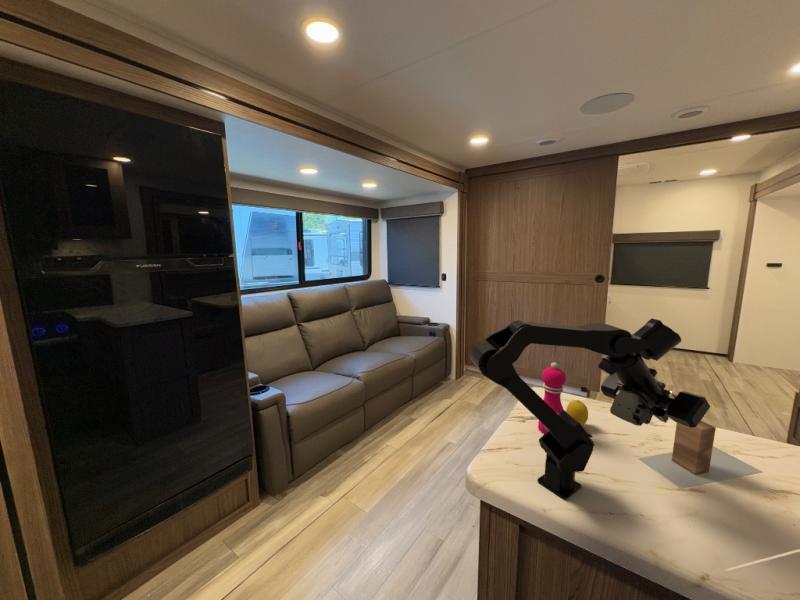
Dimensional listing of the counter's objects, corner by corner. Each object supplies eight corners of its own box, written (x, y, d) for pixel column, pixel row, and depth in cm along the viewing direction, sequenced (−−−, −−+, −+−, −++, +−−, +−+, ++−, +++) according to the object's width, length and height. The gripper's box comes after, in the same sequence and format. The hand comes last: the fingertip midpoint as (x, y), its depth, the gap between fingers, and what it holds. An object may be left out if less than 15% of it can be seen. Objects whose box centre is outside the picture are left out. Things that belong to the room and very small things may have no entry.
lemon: (567, 419, 95) (569, 394, 94) (588, 425, 92) (590, 399, 90) (563, 427, 91) (564, 401, 90) (585, 434, 87) (587, 406, 86)
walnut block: (694, 475, 71) (701, 429, 69) (671, 460, 76) (677, 417, 74) (708, 472, 71) (715, 427, 70) (685, 458, 76) (691, 415, 75)
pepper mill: (561, 441, 84) (566, 369, 81) (533, 431, 89) (537, 363, 85) (566, 428, 90) (571, 361, 87) (539, 420, 94) (543, 356, 91)
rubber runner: (680, 489, 67) (681, 488, 67) (637, 459, 77) (637, 458, 77) (762, 473, 71) (763, 471, 71) (711, 446, 81) (711, 445, 81)
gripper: (572, 387, 73) (604, 429, 77) (660, 421, 56) (696, 473, 60) (601, 352, 75) (630, 395, 79) (694, 375, 58) (726, 428, 62)
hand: (665, 420), depth 70 cm, fingers closed
